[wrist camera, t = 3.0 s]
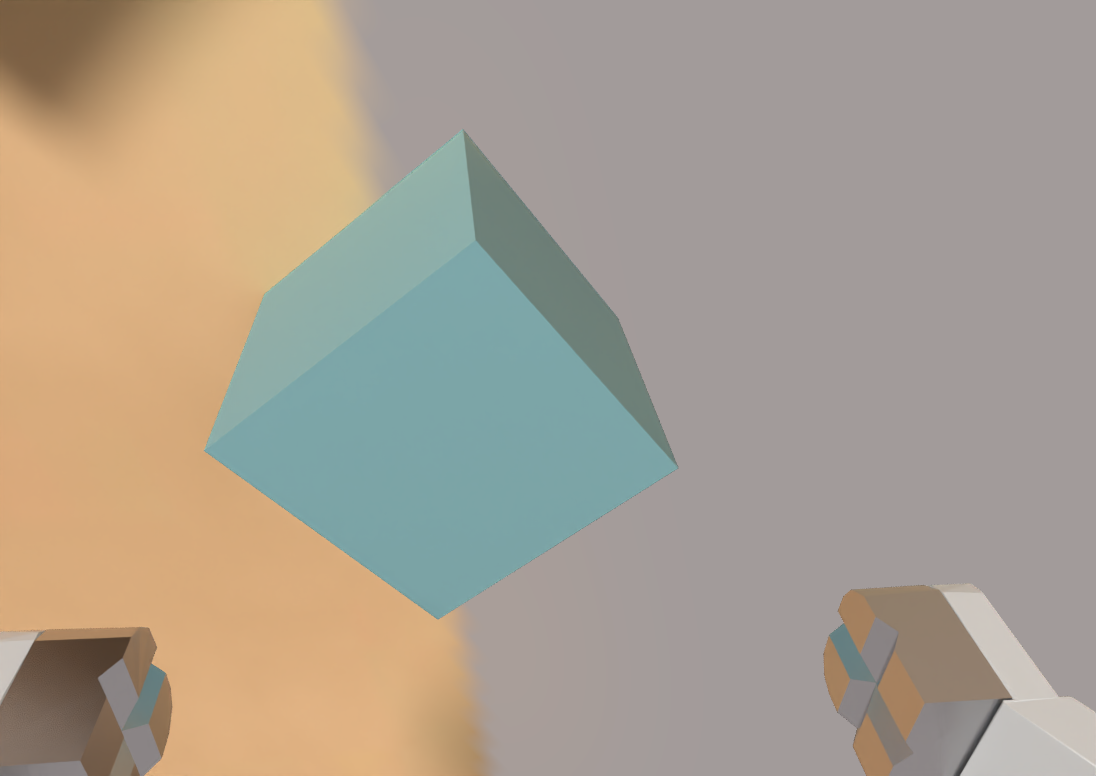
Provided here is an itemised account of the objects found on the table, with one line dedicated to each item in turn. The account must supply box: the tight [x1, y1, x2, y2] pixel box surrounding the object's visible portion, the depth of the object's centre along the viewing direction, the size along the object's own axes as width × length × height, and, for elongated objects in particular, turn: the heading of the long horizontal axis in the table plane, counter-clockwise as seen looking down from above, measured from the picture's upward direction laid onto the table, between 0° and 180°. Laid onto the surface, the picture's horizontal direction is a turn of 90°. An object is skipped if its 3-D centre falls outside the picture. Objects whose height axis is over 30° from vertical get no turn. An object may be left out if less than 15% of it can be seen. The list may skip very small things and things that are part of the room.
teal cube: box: [204, 129, 678, 619], centre depth 14 cm, size 5×5×5 cm
